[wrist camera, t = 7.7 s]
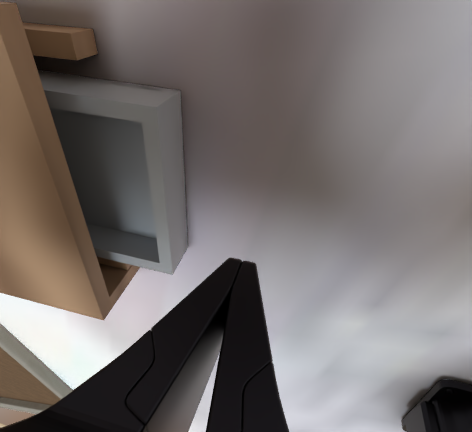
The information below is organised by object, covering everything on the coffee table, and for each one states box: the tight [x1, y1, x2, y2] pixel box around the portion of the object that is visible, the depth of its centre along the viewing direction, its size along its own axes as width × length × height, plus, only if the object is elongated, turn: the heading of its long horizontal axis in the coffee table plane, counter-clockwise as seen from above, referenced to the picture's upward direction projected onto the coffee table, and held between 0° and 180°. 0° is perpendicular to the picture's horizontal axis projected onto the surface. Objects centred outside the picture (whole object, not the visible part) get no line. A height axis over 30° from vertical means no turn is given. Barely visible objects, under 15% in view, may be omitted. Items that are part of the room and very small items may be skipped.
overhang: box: [0, 2, 140, 320], centre depth 14 cm, size 9×13×4 cm
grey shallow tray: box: [38, 70, 188, 275], centre depth 14 cm, size 10×8×2 cm
